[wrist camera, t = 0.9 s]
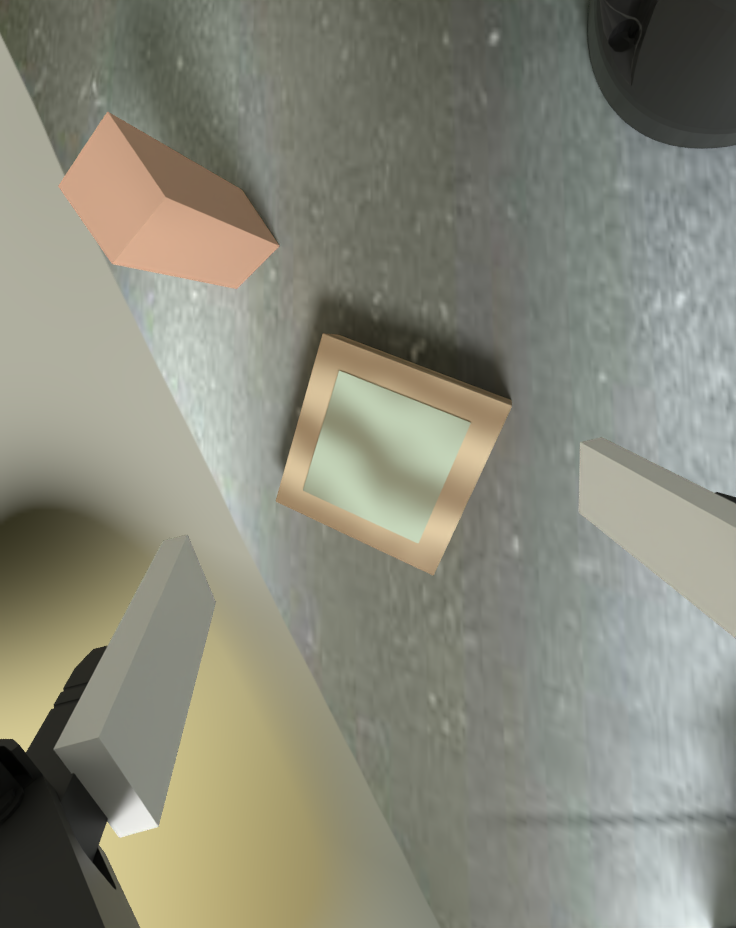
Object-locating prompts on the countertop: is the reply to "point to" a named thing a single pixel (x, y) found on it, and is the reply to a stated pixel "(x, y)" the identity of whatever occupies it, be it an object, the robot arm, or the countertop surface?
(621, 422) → the countertop surface
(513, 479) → the countertop surface
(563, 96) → the countertop surface
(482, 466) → the oak picture frame
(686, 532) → the robot arm
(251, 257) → the tall block
